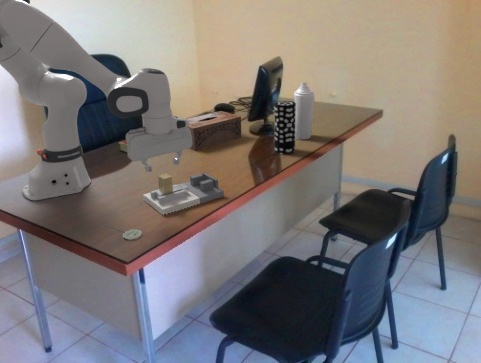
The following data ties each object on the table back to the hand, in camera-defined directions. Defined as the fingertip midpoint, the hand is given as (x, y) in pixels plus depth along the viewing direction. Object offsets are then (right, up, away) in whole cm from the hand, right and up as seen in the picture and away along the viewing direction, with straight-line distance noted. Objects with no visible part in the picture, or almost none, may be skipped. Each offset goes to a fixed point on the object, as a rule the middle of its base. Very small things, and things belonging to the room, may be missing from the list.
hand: (162, 167), depth 143 cm
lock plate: (+5, -10, +9) cm, 14 cm away
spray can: (+51, +15, +64) cm, 84 cm away
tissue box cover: (+10, +14, +65) cm, 67 cm away
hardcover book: (-17, +11, +60) cm, 63 cm away
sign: (-10, -19, -10) cm, 24 cm away
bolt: (+2, -9, +6) cm, 10 cm away
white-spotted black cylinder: (+42, +8, +48) cm, 64 cm away
